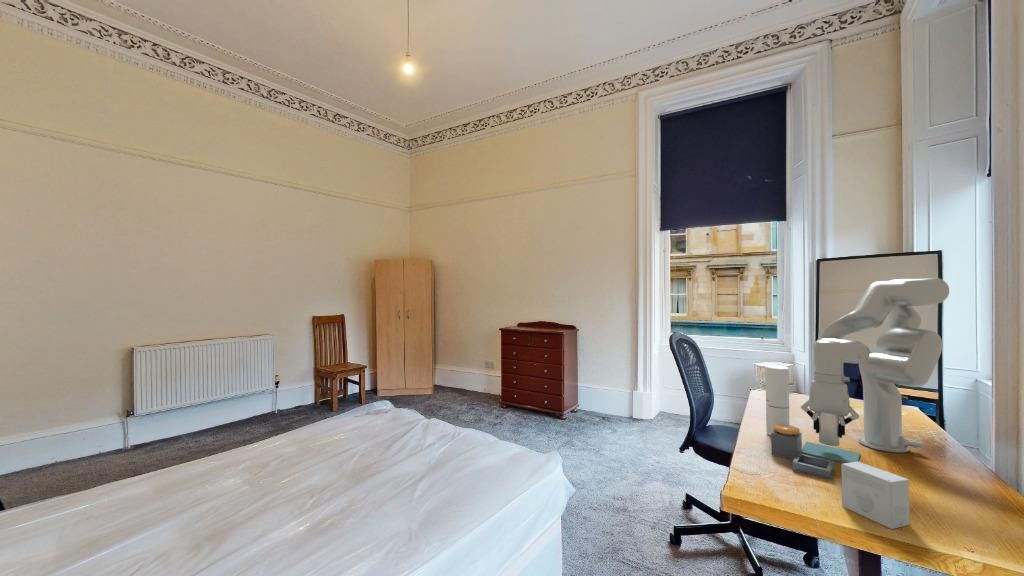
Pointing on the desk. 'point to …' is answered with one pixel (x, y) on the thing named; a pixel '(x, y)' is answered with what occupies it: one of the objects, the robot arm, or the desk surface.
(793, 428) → the plunger
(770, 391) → the cylindrical container
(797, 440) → the plunger housing
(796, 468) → the frame
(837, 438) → the cylinder
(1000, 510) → the desk surface
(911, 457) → the desk surface
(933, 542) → the desk surface
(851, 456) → the pad
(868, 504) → the skincare box
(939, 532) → the desk surface
